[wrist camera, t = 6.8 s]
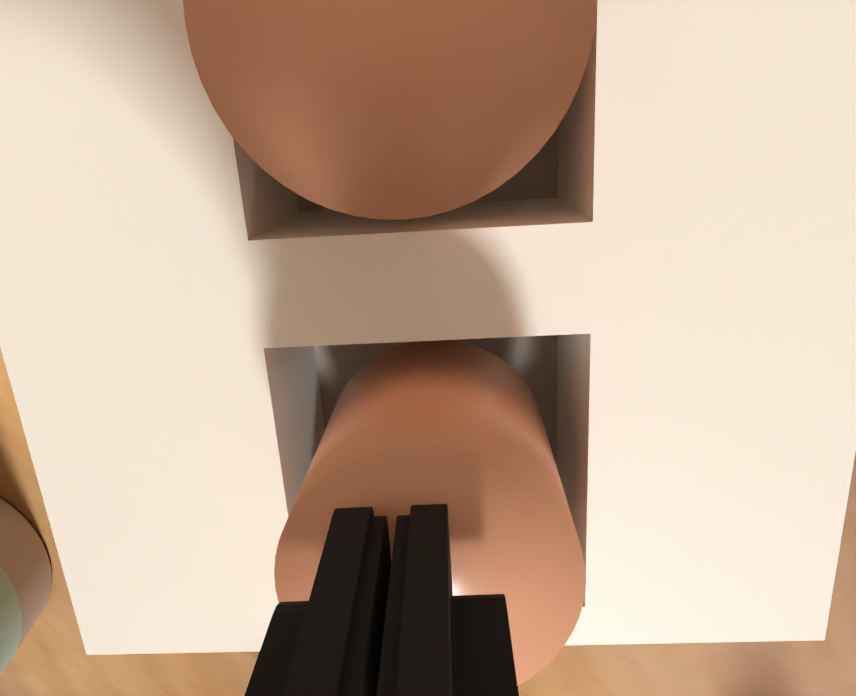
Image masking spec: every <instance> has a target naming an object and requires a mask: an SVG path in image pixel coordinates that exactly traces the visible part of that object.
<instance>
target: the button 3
mask: <svg viewBox="0 0 856 696" xmlns="http://www.w3.org/2000/svg"><path fill="white" fill-rule="evenodd" d="M425 504H447V506H448V521H449V539H450V556H451V574H452V591H453V596H459V595H487V594H504V595H505V598H506V605H507V612H508V619H509V627H510V634H511V642H512V649H513V656H514V664H515V671H516V679H517V686H518V685H519V684H521V683H523V682H525V681H526V680H528V679H529V678H531V677H532V676H534V675H535V674H536V673H538V672H539V671H540V670H542V669H543V668H544V667H545V666H546V665H547V664H548V663H549V662H550V661H551V660H552V659H553V658H554V657H555V656H556V655H557V654H558V652H559V651H560V650H561V649H562V648H563V646H564V645H565V643H566V642H567V640H568V639H569V637H570V635H571V634H572V632H573V630H574V628H575V626H576V623H577V621H578V619H579V616H580V613H581V609H582V606H583V602H584V596H585V586H586V575H585V563H584V558H583V554H582V549H581V545H580V542H579V539H578V536H577V532H576V529H575V526H574V522H573V519H572V516H571V512H570V509H569V506H568V503H567V499H566V496H565V493H564V489H563V486H562V483H561V479H560V476H559V473H558V470H557V466H556V463H555V460H554V456H553V453H552V450H551V446H550V443H549V440H548V437H547V433H546V430H545V427H544V423H543V420H542V417H541V414H540V410H539V408H538V405H537V402H536V400H535V398H534V396H533V394H532V392H531V390H530V389H529V387H528V385H527V384H526V383H525V381H524V380H523V379H522V378H521V376H520V375H519V374H518V373H517V372H516V371H515V370H514V369H513V368H512V367H511V366H510V365H508V364H507V363H506V362H504V361H503V360H502V359H501V358H499V357H497V356H496V355H494V354H492V353H490V352H489V351H487V350H485V349H482V348H480V347H477V346H475V345H472V344H468V343H465V342H461V341H455V340H436V341H414V342H407V343H403V344H400V345H397V346H394V347H392V348H389V349H387V350H385V351H383V352H382V353H380V354H378V355H376V356H375V357H373V358H372V359H370V360H369V361H368V362H366V363H365V364H364V365H363V366H362V367H361V368H360V369H359V370H358V371H356V372H355V374H354V375H353V376H352V377H351V379H350V380H349V381H348V382H347V384H346V386H345V387H344V389H343V391H342V392H341V394H340V396H339V399H338V401H337V403H336V406H335V408H334V410H333V413H332V415H331V417H330V420H329V422H328V425H327V427H326V429H325V432H324V434H323V436H322V439H321V441H320V443H319V446H318V448H317V451H316V453H315V455H314V458H313V460H312V462H311V465H310V467H309V469H308V472H307V474H306V477H305V479H304V481H303V484H302V486H301V488H300V491H299V493H298V496H297V498H296V500H295V503H294V505H293V507H292V510H291V512H290V514H289V517H288V519H287V522H286V524H285V526H284V529H283V531H282V534H281V536H280V539H279V542H278V547H277V551H276V555H275V567H274V578H275V590H276V594H277V598H278V602H279V603H280V602H289V601H309V598H310V594H311V591H312V587H313V583H314V580H315V576H316V573H317V569H318V566H319V562H320V558H321V555H322V551H323V548H324V544H325V540H326V537H327V533H328V530H329V526H330V522H331V519H332V515H333V512H334V509H336V508H351V507H372V508H373V512H374V516H386V517H387V522H388V532H389V542H390V553H391V563H392V554H393V545H394V536H395V528H396V519H397V516H398V515H410V510H411V505H425Z"/></svg>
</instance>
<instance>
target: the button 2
mask: <svg viewBox="0 0 856 696" xmlns="http://www.w3.org/2000/svg"><path fill="white" fill-rule="evenodd" d="M597 1H598V0H183V8H184V18H185V26H186V31H187V35H188V40H189V45H190V49H191V54H192V57H193V60H194V63H195V65H196V68H197V71H198V74H199V77H200V80H201V83H202V85H203V87H204V89H205V91H206V93H207V95H208V97H209V99H210V102H211V104H212V106H213V108H214V109H215V111H216V112H217V114H218V116H219V117H220V119H221V120H222V122H223V124H224V125H225V127H226V128H227V130H228V131H229V133H230V134H231V135H232V136H233V138H234V139H235V140H236V141H237V143H238V144H239V145H240V146H241V148H242V149H243V150H244V151H245V152H246V153H247V154H248V155H249V156H250V157H251V158H252V159H253V160H254V161H255V162H256V163H257V164H258V165H259V166H260V167H261V168H262V169H263V170H264V171H265V172H267V173H268V174H269V175H270V176H272V177H273V178H274V179H276V180H277V181H278V182H280V183H281V184H282V185H283V186H285V187H287V188H288V189H290V190H292V191H293V192H295V193H297V194H299V195H300V196H302V197H304V198H305V199H307V200H309V201H312V202H314V203H317V204H319V205H321V206H324V207H326V208H328V209H331V210H335V211H338V212H342V213H345V214H349V215H352V216H358V217H365V218H372V219H381V220H405V219H413V218H421V217H428V216H432V215H436V214H440V213H444V212H448V211H451V210H454V209H456V208H459V207H461V206H464V205H466V204H469V203H471V202H474V201H476V200H477V199H479V198H481V197H483V196H484V195H486V194H488V193H490V192H491V191H493V190H495V189H497V188H498V187H499V186H501V185H502V184H503V183H505V182H506V181H507V180H509V179H510V178H511V177H513V176H514V175H515V174H517V173H518V172H519V171H520V170H521V169H522V168H523V167H524V166H525V165H526V164H527V163H528V162H529V161H530V160H531V159H532V158H533V157H534V156H535V155H536V154H537V153H538V152H539V151H540V150H541V148H542V147H543V146H544V145H545V143H546V142H547V141H548V140H549V138H550V137H551V136H552V135H553V133H554V132H555V130H556V129H557V127H558V125H559V124H560V122H561V121H562V119H563V117H564V116H565V114H566V112H567V111H568V109H569V107H570V105H571V103H572V101H573V98H574V96H575V94H576V92H577V90H578V88H579V85H580V83H581V80H582V77H583V74H584V71H585V68H586V65H587V62H588V59H589V56H590V51H591V46H592V41H593V36H594V31H595V26H596V13H597Z"/></svg>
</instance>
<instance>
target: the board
mask: <svg viewBox="0 0 856 696" xmlns="http://www.w3.org/2000/svg"><path fill="white" fill-rule="evenodd" d="M436 340H455V341H461V342H465V343H468V344H472V345H475V346H477V347H480V348H482V349H485V350H487V351H489V352H490V353H492V354H494V355H496V356H497V357H499V358H501V359H502V360H503V361H504V362H506V363H507V364H508V365H510V366H511V367H512V368H513V369H514V370H515V371H516V372H517V373H518V374H519V375H520V376H521V378H522V379H523V380H524V381H525V383H526V384H527V385H528V387H529V389H530V390H531V392H532V394H533V396H534V398H535V400H536V402H537V405H538V408H539V410H540V414H541V417H542V420H543V423H544V427H545V430H546V433H547V437H548V440H549V443H550V446H551V450H552V453H553V456H554V460H555V463H556V466H557V470H558V473H559V476H560V479H561V483H562V486H563V489H564V493H565V496H566V499H567V503H568V506H569V509H570V512H571V516H572V519H573V522H574V526H575V529H576V532H577V536H578V539H579V542H580V545H581V549H582V554H583V558H584V563H585V575H586V586H585V596H584V602H583V606H582V609H581V613H580V616H579V619H578V621H577V623H576V626H575V628H574V630H573V632H572V634H571V635H570V637H569V639H568V640H567V642H566V643H565V645H608V644H659V643H709V642H760V641H810V640H825V634H826V628H827V622H828V616H829V610H830V604H831V598H832V592H833V586H834V580H835V573H836V567H837V561H838V555H839V549H840V543H841V537H842V531H843V525H844V519H845V513H846V506H847V500H848V494H849V488H850V482H851V476H852V470H853V464H854V458H855V452H856V0H598V1H597V13H596V26H595V31H594V36H593V41H592V46H591V51H590V56H589V59H588V62H587V65H586V68H585V71H584V74H583V77H582V80H581V83H580V85H579V88H578V90H577V92H576V94H575V96H574V98H573V101H572V103H571V105H570V107H569V109H568V111H567V112H566V114H565V116H564V117H563V119H562V121H561V122H560V124H559V125H558V127H557V129H556V130H555V132H554V133H553V135H552V136H551V137H550V138H549V140H548V141H547V142H546V143H545V145H544V146H543V147H542V148H541V150H540V151H539V152H538V153H537V154H536V155H535V156H534V157H533V158H532V159H531V160H530V161H529V162H528V163H527V164H526V165H525V166H524V167H523V168H522V169H521V170H520V171H519V172H518V173H517V174H515V175H514V176H513V177H511V178H510V179H509V180H507V181H506V182H505V183H503V184H502V185H501V186H499V187H498V188H497V189H495V190H493V191H491V192H490V193H488V194H486V195H484V196H483V197H481V198H479V199H477V200H476V201H474V202H471V203H469V204H466V205H464V206H461V207H459V208H456V209H454V210H451V211H448V212H444V213H440V214H436V215H432V216H428V217H421V218H413V219H405V220H381V219H372V218H365V217H358V216H352V215H349V214H345V213H342V212H338V211H335V210H331V209H328V208H326V207H324V206H321V205H319V204H317V203H314V202H312V201H309V200H307V199H305V198H304V197H302V196H300V195H299V194H297V193H295V192H293V191H292V190H290V189H288V188H287V187H285V186H283V185H282V184H281V183H280V182H278V181H277V180H276V179H274V178H273V177H272V176H270V175H269V174H268V173H267V172H265V171H264V170H263V169H262V168H261V167H260V166H259V165H258V164H257V163H256V162H255V161H254V160H253V159H252V158H251V157H250V156H249V155H248V154H247V153H246V152H245V151H244V150H243V149H242V148H241V146H240V145H239V144H238V143H237V141H236V140H235V139H234V138H233V136H232V135H231V134H230V133H229V131H228V130H227V128H226V127H225V125H224V124H223V122H222V120H221V119H220V117H219V116H218V114H217V112H216V111H215V109H214V108H213V106H212V104H211V102H210V99H209V97H208V95H207V93H206V91H205V89H204V87H203V85H202V83H201V80H200V77H199V74H198V71H197V68H196V65H195V63H194V60H193V57H192V54H191V49H190V45H189V40H188V35H187V31H186V26H185V18H184V8H183V0H0V347H1V351H2V354H3V358H4V361H5V365H6V368H7V372H8V376H9V379H10V383H11V386H12V390H13V393H14V397H15V401H16V404H17V408H18V411H19V415H20V418H21V422H22V426H23V429H24V433H25V436H26V440H27V443H28V447H29V451H30V454H31V458H32V461H33V465H34V468H35V472H36V476H37V479H38V483H39V486H40V490H41V493H42V497H43V501H44V504H45V508H46V511H47V515H48V518H49V522H50V526H51V529H52V533H53V536H54V540H55V543H56V547H57V551H58V554H59V558H60V561H61V565H62V568H63V572H64V576H65V579H66V583H67V586H68V590H69V593H70V597H71V601H72V604H73V608H74V611H75V615H76V618H77V622H78V626H79V629H80V633H81V636H82V640H83V643H84V647H85V651H86V654H87V655H103V654H154V653H204V652H255V651H260V650H261V647H262V644H263V641H264V638H265V635H266V632H267V629H268V626H269V623H270V620H271V618H272V615H273V612H274V610H275V608H276V606H277V605H278V604H279V602H278V598H277V594H276V590H275V578H274V567H275V555H276V551H277V547H278V542H279V539H280V536H281V534H282V531H283V529H284V526H285V524H286V522H287V519H288V517H289V514H290V512H291V510H292V507H293V505H294V503H295V500H296V498H297V496H298V493H299V491H300V488H301V486H302V484H303V481H304V479H305V477H306V474H307V472H308V469H309V467H310V465H311V462H312V460H313V458H314V455H315V453H316V451H317V448H318V446H319V443H320V441H321V439H322V436H323V434H324V432H325V429H326V427H327V425H328V422H329V420H330V417H331V415H332V413H333V410H334V408H335V406H336V403H337V401H338V399H339V396H340V394H341V392H342V391H343V389H344V387H345V386H346V384H347V382H348V381H349V380H350V379H351V377H352V376H353V375H354V374H355V372H356V371H358V370H359V369H360V368H361V367H362V366H363V365H364V364H365V363H366V362H368V361H369V360H370V359H372V358H373V357H375V356H376V355H378V354H380V353H382V352H383V351H385V350H387V349H389V348H392V347H394V346H397V345H400V344H403V343H407V342H414V341H436Z"/></svg>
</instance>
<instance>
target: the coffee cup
mask: <svg viewBox="0 0 856 696" xmlns="http://www.w3.org/2000/svg"><path fill="white" fill-rule="evenodd" d="M51 584H52V574H51V565H50V561H49V558H48V555H47V552H46V549H45V547H44V545H43V543H42V541H41V539H40V538H39V536H38V534H37V533H36V531H35V530H34V529H33V527H32V526H31V525H30V523H29V522H28V521H27V520H26V519H25V518H24V517H23V516H22V515H21V514H20V513H19V512H18V511H17V510H15V509H14V508H13V507H12V506H11V505H9V504H8V503H7V502H5V501H4V500H2V499H1V498H0V675H1V673H2V672H3V670H4V669H5V667H6V666H7V664H8V663H9V661H10V660H11V658H12V657H13V655H14V653H15V652H16V650H17V649H18V647H19V646H20V644H21V642H22V641H23V639H24V638H25V636H26V635H27V633H28V632H29V630H30V629H31V627H32V625H33V624H34V622H35V621H36V619H37V618H38V616H39V615H40V613H41V612H42V610H43V608H44V607H45V605H46V603H47V600H48V598H49V595H50V591H51Z"/></svg>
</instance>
